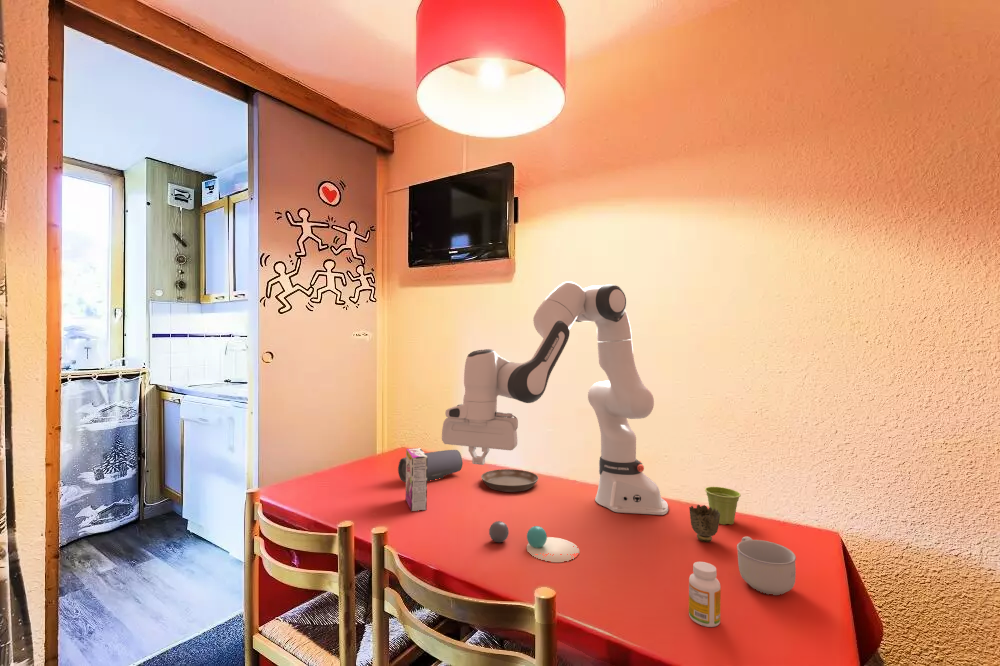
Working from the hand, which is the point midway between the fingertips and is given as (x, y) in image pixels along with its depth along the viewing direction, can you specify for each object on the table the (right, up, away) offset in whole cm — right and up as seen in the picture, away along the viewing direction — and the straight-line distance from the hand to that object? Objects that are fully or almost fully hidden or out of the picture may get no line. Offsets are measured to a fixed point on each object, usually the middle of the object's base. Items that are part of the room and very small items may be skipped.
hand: (478, 463), depth 116 cm
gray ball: (+5, -17, -3) cm, 18 cm away
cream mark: (+19, -19, -6) cm, 28 cm away
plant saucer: (+9, -21, +44) cm, 49 cm away
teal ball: (+15, -17, -5) cm, 23 cm away
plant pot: (+71, -21, +14) cm, 75 cm away
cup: (+60, -21, +1) cm, 63 cm away
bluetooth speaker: (-20, -20, +48) cm, 55 cm away
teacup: (+63, -20, -20) cm, 69 cm away
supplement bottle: (+44, -20, -33) cm, 58 cm away
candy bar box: (-21, -20, +22) cm, 36 cm away
